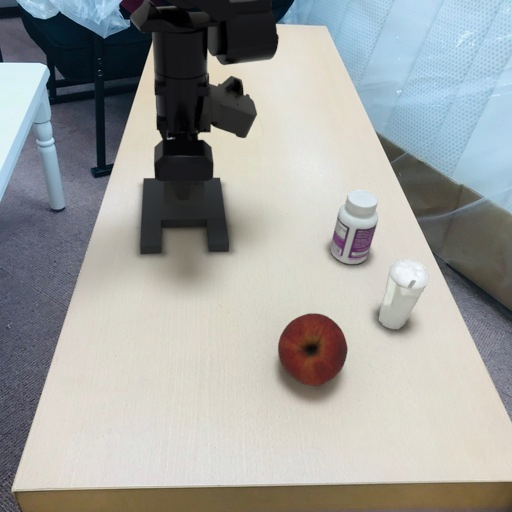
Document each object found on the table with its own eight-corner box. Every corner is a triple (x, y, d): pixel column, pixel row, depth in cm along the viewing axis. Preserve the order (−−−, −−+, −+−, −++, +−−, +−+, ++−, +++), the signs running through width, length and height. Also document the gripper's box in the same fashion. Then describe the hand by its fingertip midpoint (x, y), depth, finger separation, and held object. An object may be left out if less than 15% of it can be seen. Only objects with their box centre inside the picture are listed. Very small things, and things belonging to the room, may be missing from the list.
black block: (164, 205, 64) (163, 186, 62) (164, 182, 68) (163, 163, 66) (204, 205, 65) (204, 185, 63) (202, 182, 68) (202, 163, 66)
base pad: (140, 254, 69) (139, 245, 68) (144, 185, 80) (143, 177, 79) (228, 251, 71) (229, 243, 70) (219, 185, 82) (220, 177, 81)
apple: (260, 375, 56) (267, 328, 51) (296, 331, 61) (306, 285, 56) (319, 411, 53) (332, 367, 48) (351, 362, 58) (367, 317, 53)
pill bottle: (369, 245, 74) (386, 191, 68) (364, 269, 70) (381, 214, 64) (333, 236, 75) (346, 182, 68) (326, 259, 71) (339, 204, 65)
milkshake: (371, 334, 62) (392, 275, 55) (374, 302, 66) (394, 244, 59) (409, 343, 61) (435, 285, 54) (409, 310, 65) (434, 253, 58)
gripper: (266, 109, 49) (254, 232, 60) (244, 39, 63) (237, 149, 73) (150, 108, 48) (158, 235, 58) (153, 35, 61) (159, 149, 72)
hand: (183, 187), depth 65 cm, fingers closed on black block, 5 cm apart
